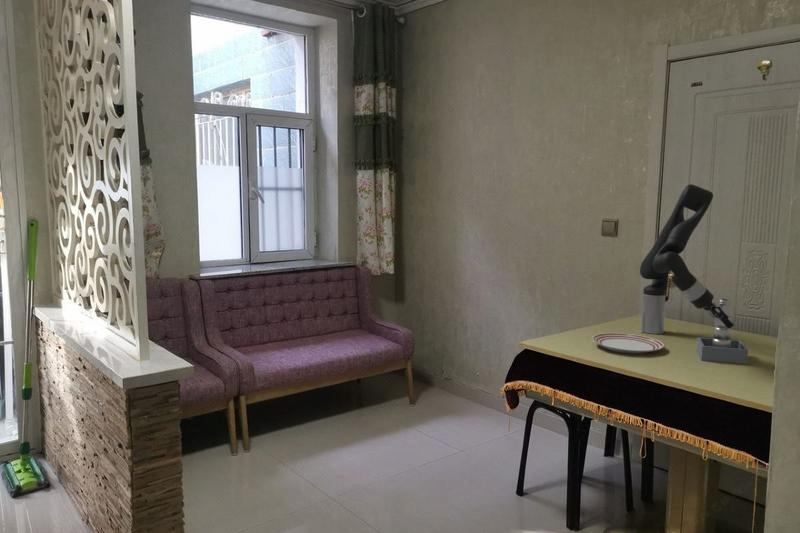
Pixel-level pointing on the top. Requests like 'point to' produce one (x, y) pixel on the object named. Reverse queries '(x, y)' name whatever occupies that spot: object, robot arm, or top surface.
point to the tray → (722, 352)
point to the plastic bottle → (722, 326)
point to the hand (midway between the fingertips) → (727, 324)
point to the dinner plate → (627, 343)
